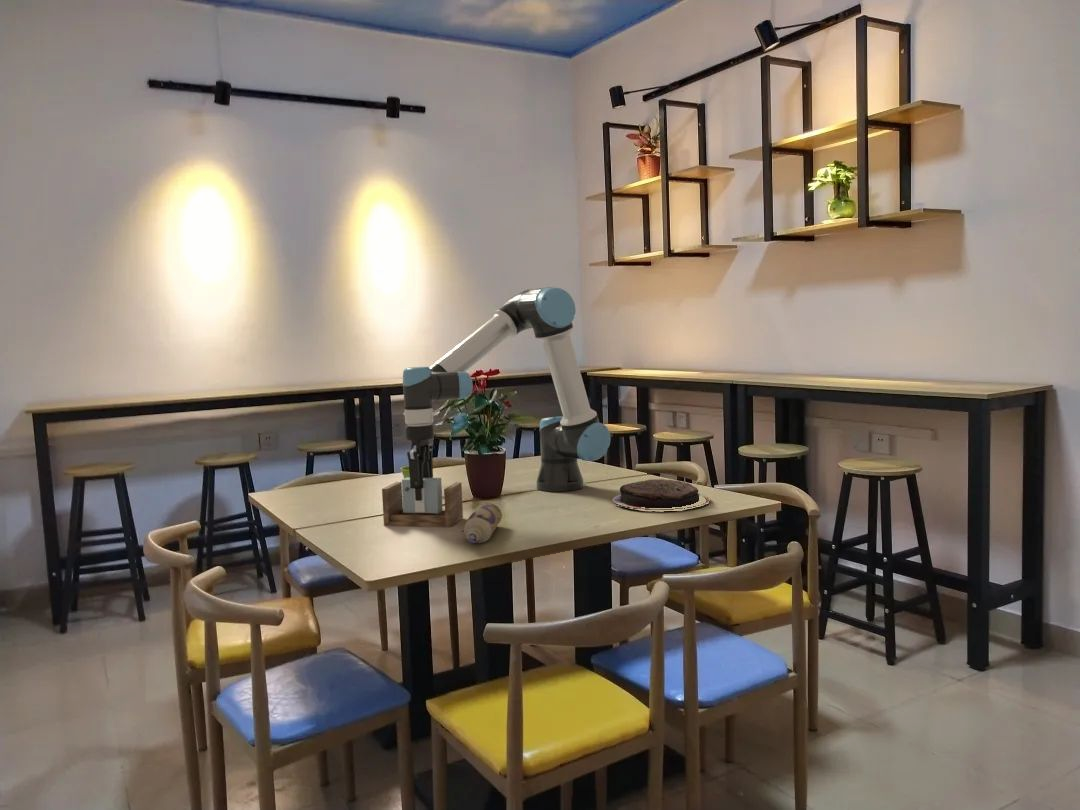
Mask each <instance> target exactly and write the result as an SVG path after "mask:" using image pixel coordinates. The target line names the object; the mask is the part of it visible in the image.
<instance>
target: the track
mask: <svg viewBox="0 0 1080 810" xmlns="http://www.w3.org/2000/svg"><path fill="white" fill-rule="evenodd" d="M381 489H382V490H381V495H382V496H381V497H382V499H381V500H382V512H383V513H382V514H383V516H382V517H383V526H384V525H392V526H391V527H433V526H438V527H440V526H441V528H442V527H443V528H447V527H449V528H451V527H453V526H455V525H456V524H457V523H459V522H460V521H461V520H463V519H464V513H463V512H464V509H463V507H464V506H463V488H462V481H460V482H459V481H458V482H457V481H456V482H454V483H452V484H450V485H448V486H447V487H445V488H444V489H443V495H444V497H443V498H444V509H443V511H441V512H440V513H403V496H402V481H395V482H394V483H391V484H389V485H387V486H385V487H383V488H381ZM462 518H463V519H462ZM459 520H460V521H459ZM458 521H459V522H458ZM455 523H456V524H455ZM394 525H395V526H394ZM438 527H437V528H438Z"/></svg>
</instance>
